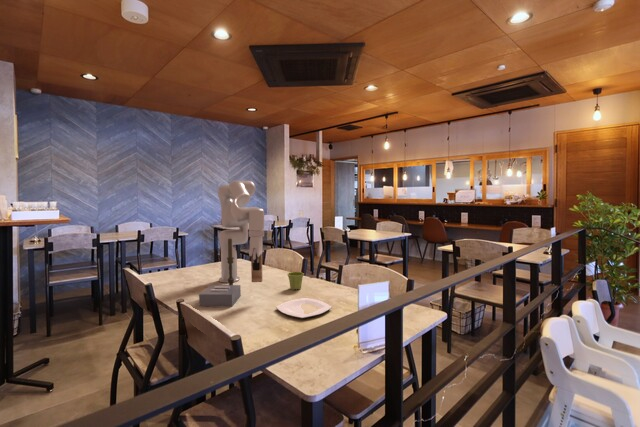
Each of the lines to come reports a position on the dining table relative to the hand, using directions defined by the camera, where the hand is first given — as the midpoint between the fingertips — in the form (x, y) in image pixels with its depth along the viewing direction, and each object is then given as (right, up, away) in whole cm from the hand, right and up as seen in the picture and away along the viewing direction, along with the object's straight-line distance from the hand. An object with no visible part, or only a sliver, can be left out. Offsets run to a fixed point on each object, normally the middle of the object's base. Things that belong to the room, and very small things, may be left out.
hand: (256, 269), depth 170 cm
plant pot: (+18, -15, +23) cm, 33 cm away
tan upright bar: (0, -6, +1) cm, 6 cm away
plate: (+24, -18, -11) cm, 32 cm away
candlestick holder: (-18, -15, +20) cm, 31 cm away
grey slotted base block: (-19, -17, +2) cm, 25 cm away
